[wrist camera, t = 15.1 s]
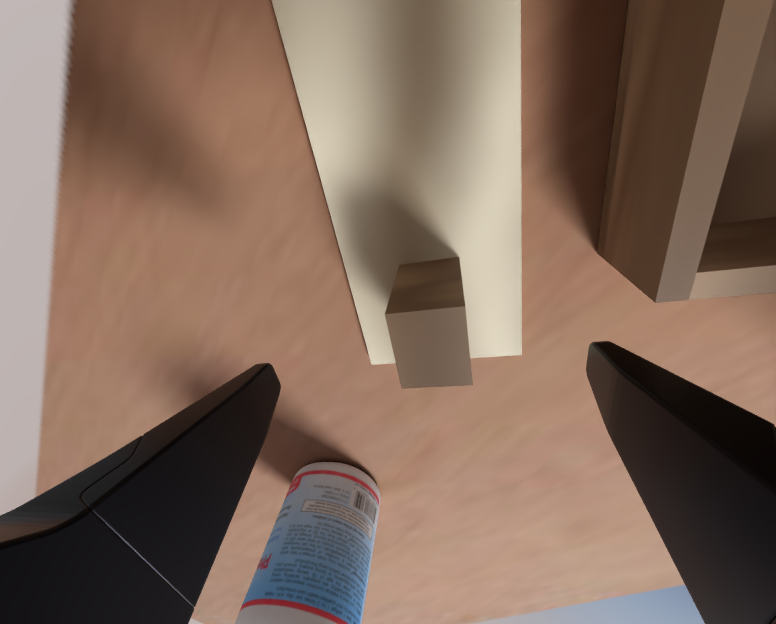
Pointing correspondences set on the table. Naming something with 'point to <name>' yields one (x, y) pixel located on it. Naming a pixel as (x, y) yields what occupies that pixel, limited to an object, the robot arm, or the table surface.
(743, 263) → the toolbox
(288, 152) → the table surface
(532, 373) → the table surface
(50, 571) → the robot arm
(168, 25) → the table surface
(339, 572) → the pill bottle
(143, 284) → the table surface
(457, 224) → the lid
